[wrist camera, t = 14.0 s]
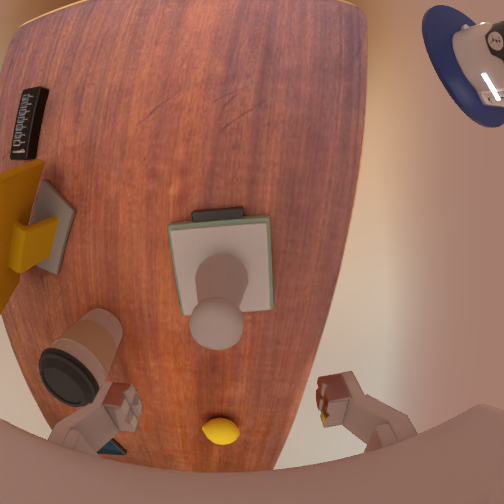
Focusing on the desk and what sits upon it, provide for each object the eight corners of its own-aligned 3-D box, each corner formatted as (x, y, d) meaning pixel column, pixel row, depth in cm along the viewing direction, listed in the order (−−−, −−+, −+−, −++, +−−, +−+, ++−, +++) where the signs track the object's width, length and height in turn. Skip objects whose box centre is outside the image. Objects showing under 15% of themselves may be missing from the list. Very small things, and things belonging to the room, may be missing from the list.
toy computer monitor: (51, 157, 29) (-29, 163, 14) (88, 178, 30) (7, 192, 15) (23, 272, 34) (-36, 313, 18) (55, 295, 35) (-2, 348, 20)
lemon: (243, 415, 44) (244, 438, 39) (235, 430, 45) (235, 452, 40) (206, 408, 43) (204, 431, 38) (200, 424, 44) (198, 445, 39)
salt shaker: (237, 300, 33) (238, 370, 21) (192, 285, 33) (170, 350, 20) (254, 257, 32) (265, 313, 19) (207, 241, 31) (188, 288, 19)
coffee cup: (140, 336, 38) (107, 407, 23) (107, 357, 39) (72, 421, 24) (101, 291, 35) (47, 349, 21) (71, 317, 36) (23, 372, 22)
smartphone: (128, 453, 48) (127, 455, 47) (88, 450, 48) (87, 452, 48) (110, 436, 46) (109, 439, 45) (71, 434, 46) (69, 436, 45)
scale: (267, 204, 33) (270, 207, 30) (271, 302, 37) (274, 312, 34) (169, 212, 33) (164, 216, 30) (184, 308, 36) (180, 318, 34)
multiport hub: (49, 88, 26) (41, 85, 23) (35, 159, 29) (26, 159, 26) (31, 91, 25) (22, 89, 23) (18, 159, 28) (9, 159, 26)
